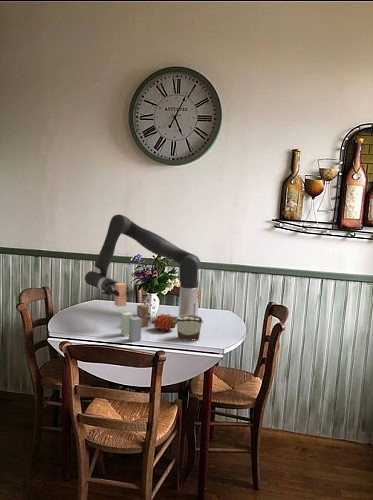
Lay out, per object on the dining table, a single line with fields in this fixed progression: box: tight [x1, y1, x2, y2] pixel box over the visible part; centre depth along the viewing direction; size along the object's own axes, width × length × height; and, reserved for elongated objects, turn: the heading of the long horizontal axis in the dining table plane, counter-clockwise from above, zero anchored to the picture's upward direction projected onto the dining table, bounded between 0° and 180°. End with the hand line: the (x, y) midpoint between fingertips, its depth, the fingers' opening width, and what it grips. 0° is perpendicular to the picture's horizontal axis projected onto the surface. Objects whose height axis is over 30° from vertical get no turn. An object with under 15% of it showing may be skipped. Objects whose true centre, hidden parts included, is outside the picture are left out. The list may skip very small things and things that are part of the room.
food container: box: [175, 315, 204, 341], centre depth 210 cm, size 12×6×10 cm, turn 92°
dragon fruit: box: [151, 313, 177, 332], centre depth 219 cm, size 8×8×12 cm
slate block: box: [128, 316, 142, 343], centre depth 203 cm, size 4×4×10 cm
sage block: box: [120, 311, 134, 337], centre depth 210 cm, size 4×4×10 cm
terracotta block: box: [114, 282, 127, 308], centre depth 214 cm, size 4×4×10 cm
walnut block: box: [136, 304, 149, 329], centre depth 223 cm, size 4×4×10 cm
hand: (123, 293), depth 212 cm, fingers closed on terracotta block, 4 cm apart
